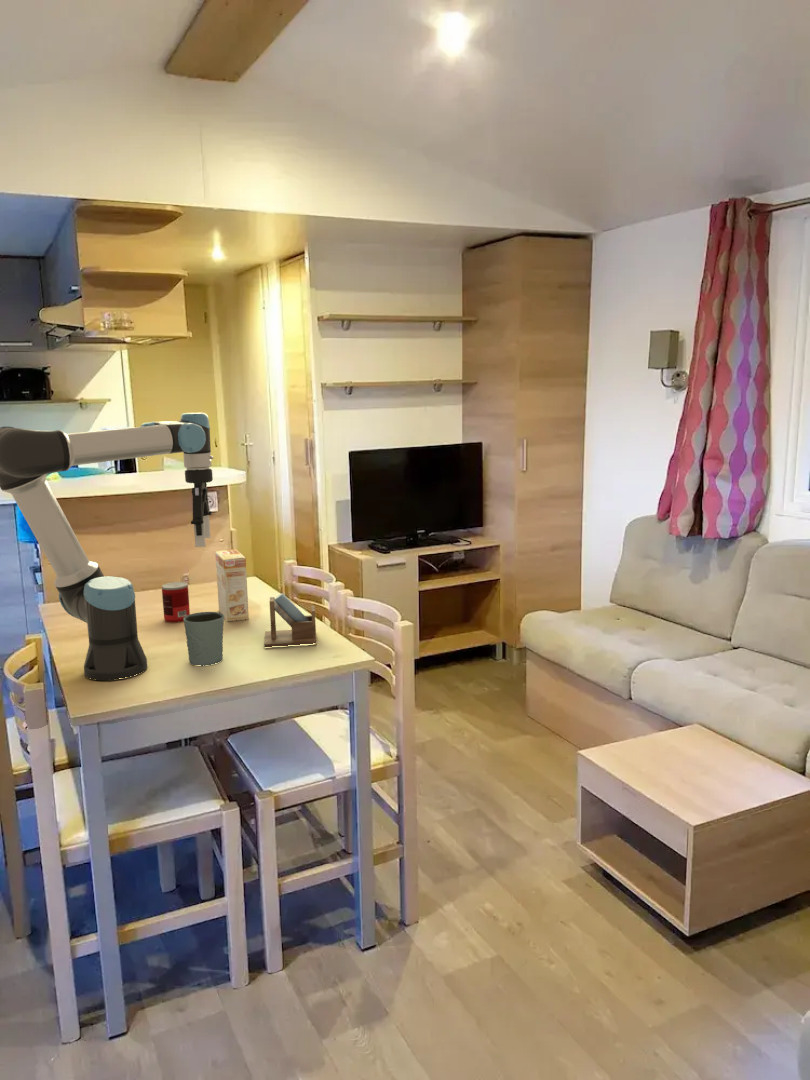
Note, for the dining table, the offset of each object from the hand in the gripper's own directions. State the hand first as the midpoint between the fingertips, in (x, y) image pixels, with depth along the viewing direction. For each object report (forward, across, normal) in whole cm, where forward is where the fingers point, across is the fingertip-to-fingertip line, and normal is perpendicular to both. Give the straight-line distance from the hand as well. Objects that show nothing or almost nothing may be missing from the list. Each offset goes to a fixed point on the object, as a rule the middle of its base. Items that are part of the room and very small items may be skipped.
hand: (203, 542), depth 232 cm
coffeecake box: (+27, +17, -6) cm, 32 cm away
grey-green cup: (+27, -26, -2) cm, 37 cm away
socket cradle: (+27, -13, -24) cm, 38 cm away
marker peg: (+23, -13, -29) cm, 39 cm away
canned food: (+27, +15, +11) cm, 33 cm away
